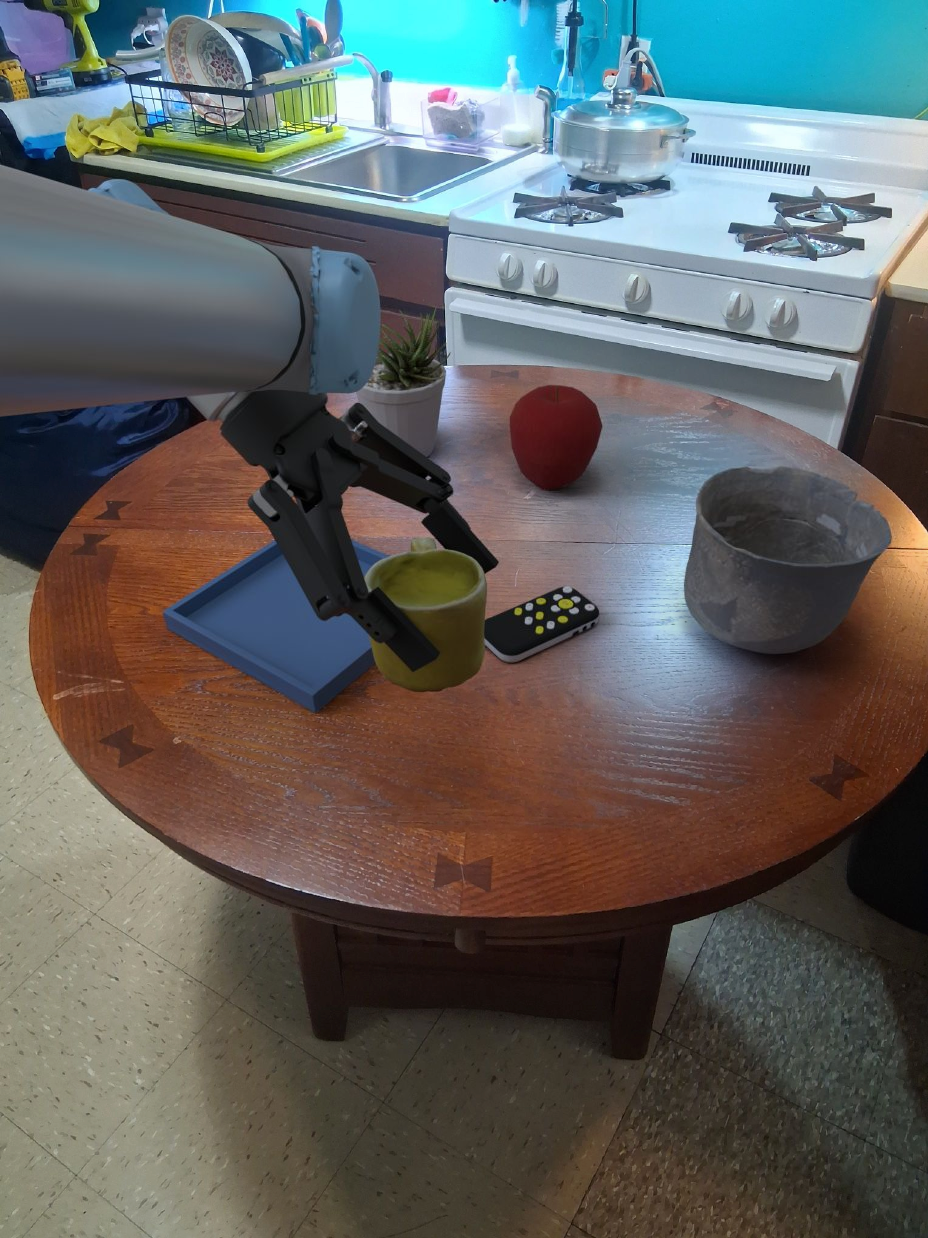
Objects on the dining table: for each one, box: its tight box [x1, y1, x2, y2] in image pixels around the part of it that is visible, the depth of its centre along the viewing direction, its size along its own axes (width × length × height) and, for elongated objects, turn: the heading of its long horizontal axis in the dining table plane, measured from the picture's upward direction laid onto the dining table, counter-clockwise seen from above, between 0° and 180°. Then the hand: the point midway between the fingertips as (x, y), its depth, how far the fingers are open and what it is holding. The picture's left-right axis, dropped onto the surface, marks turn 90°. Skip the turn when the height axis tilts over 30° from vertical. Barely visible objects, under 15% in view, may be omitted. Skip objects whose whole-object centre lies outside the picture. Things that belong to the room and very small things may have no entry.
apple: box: [509, 384, 603, 491], centre depth 112 cm, size 12×12×13 cm
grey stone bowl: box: [683, 465, 893, 655], centre depth 87 cm, size 18×18×15 cm
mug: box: [364, 536, 488, 693], centre depth 68 cm, size 12×10×10 cm
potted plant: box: [355, 307, 452, 458], centre depth 116 cm, size 13×14×20 cm
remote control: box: [484, 586, 600, 663], centre depth 92 cm, size 6×13×2 cm, turn 124°
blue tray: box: [161, 539, 390, 714], centre depth 94 cm, size 22×22×2 cm
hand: (458, 614), depth 67 cm, fingers closed on mug, 11 cm apart
